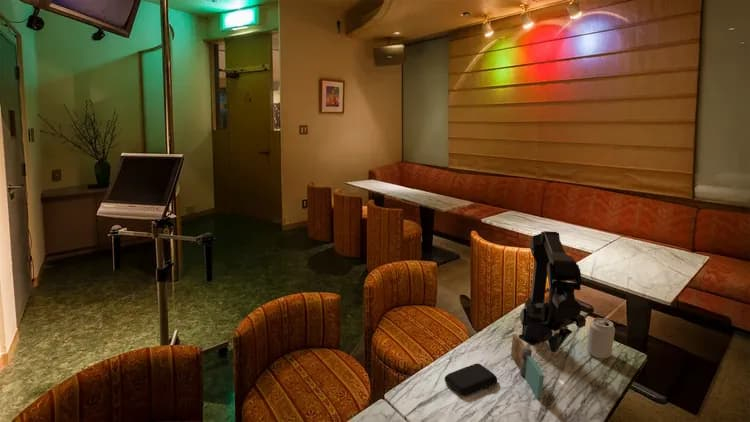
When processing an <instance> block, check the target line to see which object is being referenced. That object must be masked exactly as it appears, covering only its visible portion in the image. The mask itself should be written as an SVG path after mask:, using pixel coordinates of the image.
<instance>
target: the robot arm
mask: <svg viewBox="0 0 750 422" xmlns="http://www.w3.org/2000/svg"><path fill="white" fill-rule="evenodd" d="M560 239H561V237H560V233H559V232H558V231H551V230H550V231H547V230H544V231H541V232H540V233H538V234H535V235H533V236H532V237H531V239H530V240H529V241H530V242H529V250H530V253H531V254H532V257H533V259H534V263H533V264H534V265H533V273H532V282H531V289H530V290H531V291H530V297H528V299H527V300H526V301H525V302H524V305H523V308H522V310H521V311H520V313H519V320H520V324H521V326H522V330H521V334H518V337H519V339H521V340H523V341H526V343H528V344H529V345H532V346H533V345H535V344H536V345H537V344H538V343H545V342H548V346H549V350H550V352H551V353H556V352H557V351H558V349H560V347H561V346H562V344H563V343H564V342H565V341H566V340H567V339H568V338H569V336H570V335H571V334H572V333H573V330H571V329H569V326H570V325H573V324H574V323H576V327H577V328H578V329H581V328H583V327H586V322H587V320H586V318H585V316H584V315H582V314H581V312H582V306H581V304H580V303H579V301H578V300H577V298H576V296H575V291H581V286H582V284H583V282H582V280H583V279H582V273H581V268H580V267H579V266H580V265H579V264H577V261H576V260H575V259H574V257H573V256H571V255H569V254H567V253H566V251H565V249H564V246H563V244H562V241H561V240H560ZM547 282H548V287H549V289H548V296H547V297H548V298H547V302H545V297H546V289H547Z"/></svg>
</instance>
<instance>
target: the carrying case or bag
mask: <svg viewBox="0 0 750 422" xmlns="http://www.w3.org/2000/svg"><path fill="white" fill-rule="evenodd" d="M444 382H445V383H446V384H447V385H449V387H451V388H452V390H454V391H455V392H457V394H459V395H460V396H462V395H463V396H464V397H466V396H469V395H472V394H473V393H477V392H480V391H481V390H484V389H486V388H488V387H490V388H491V389H492V388H493V387H495V386H496V385H497V383H498V378H497V376H496V375H495V373H493V372H492V371H490V370H489V369H488V368H486V367H485V366H484V365H482V364H481V363H473V364H471V365H468V366H466V367H465V366H464V367H462V368H460V369H457V370H455V371H452V372H450V373H448V374H446V375H445V377H444ZM463 396H462V397H463Z"/></svg>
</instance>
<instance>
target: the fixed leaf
mask: <svg viewBox="0 0 750 422" xmlns="http://www.w3.org/2000/svg"><path fill="white" fill-rule="evenodd" d="M532 351H533V350H531V349H530V348H527V347H526V346H525V344H524V343H523V341H522V339H521V338H520V337H519V335H518V334H516V333H514V334H512V339H511V351H510V352H511V353H510V356H511V358H512V360H513V361H514V363H515V365H516V366H517V368H518V369H519V371H520V373H519V374H520V377H523V378H525V370H522V369H521V363H522V359H523V360H526V361H527V356H532V354H533V353H532Z"/></svg>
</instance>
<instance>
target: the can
mask: <svg viewBox="0 0 750 422" xmlns="http://www.w3.org/2000/svg"><path fill="white" fill-rule="evenodd" d="M615 333H616V328H615V326H614V322H613V321H611V320H609V319H607V318H602V317H596V318H593V319H592V321H591V322H590V323H589V329H588V336H587V342H586V351H587V353H588V354H590V356H592V357H594V358H596V359H601V360H606V359H608V358H610V357H612V353H613V352H612V351H613V345H614V339H615Z"/></svg>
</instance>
